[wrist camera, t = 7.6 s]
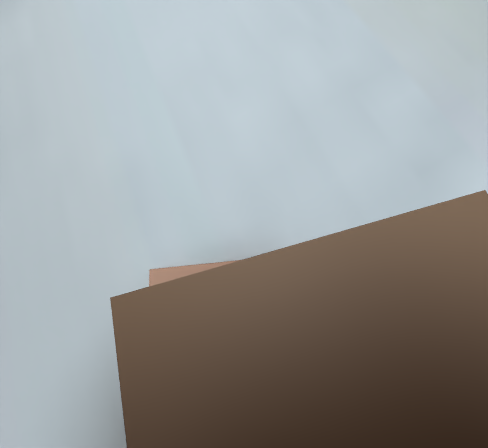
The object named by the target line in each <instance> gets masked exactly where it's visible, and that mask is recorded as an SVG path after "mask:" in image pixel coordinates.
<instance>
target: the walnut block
mask: <svg viewBox="0 0 488 448" xmlns="http://www.w3.org/2000/svg"><path fill="white" fill-rule="evenodd" d="M110 299H111V308H112V317H113V326H114V335H115V344H116V353H117V362H118V371H119V380H120V389H121V398H122V407H123V416H124V425H125V434H126V443H127V448H488V194H487V192H486V191H485V190H484V191H480V192H477V193H473V194H470V195H466V196H463V197H459V198H456V199H452V200H449V201H445V202H442V203H438V204H435V205H431V206H428V207H424V208H421V209H417V210H414V211H411V212H407V213H404V214H400V215H397V216H393V217H390V218H386V219H383V220H379V221H376V222H372V223H369V224H365V225H362V226H358V227H355V228H351V229H348V230H344V231H341V232H337V233H334V234H331V235H327V236H324V237H320V238H317V239H313V240H310V241H306V242H303V243H299V244H296V245H292V246H289V247H285V248H282V249H278V250H275V251H271V252H268V253H264V254H261V255H257V256H254V257H251V258H247V259H244V260H240V261H237V262H233V263H230V264H226V265H223V266H219V267H216V268H212V269H209V270H205V271H202V272H198V273H195V274H191V275H188V276H184V277H181V278H177V279H174V280H171V281H167V282H164V283H160V284H157V285H153V286H150V287H146V288H143V289H139V290H136V291H132V292H129V293H125V294H122V295H118V296H115V297H111V298H110Z"/></svg>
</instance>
